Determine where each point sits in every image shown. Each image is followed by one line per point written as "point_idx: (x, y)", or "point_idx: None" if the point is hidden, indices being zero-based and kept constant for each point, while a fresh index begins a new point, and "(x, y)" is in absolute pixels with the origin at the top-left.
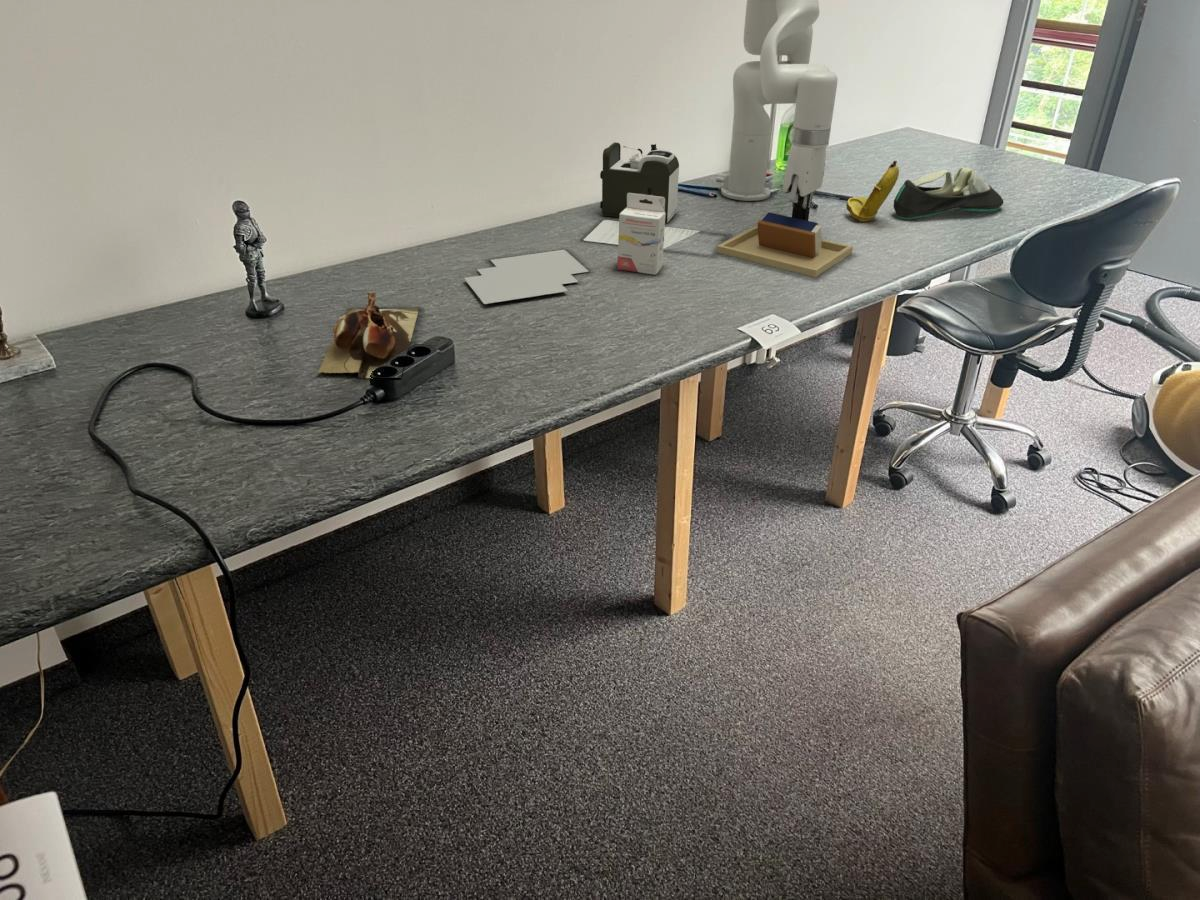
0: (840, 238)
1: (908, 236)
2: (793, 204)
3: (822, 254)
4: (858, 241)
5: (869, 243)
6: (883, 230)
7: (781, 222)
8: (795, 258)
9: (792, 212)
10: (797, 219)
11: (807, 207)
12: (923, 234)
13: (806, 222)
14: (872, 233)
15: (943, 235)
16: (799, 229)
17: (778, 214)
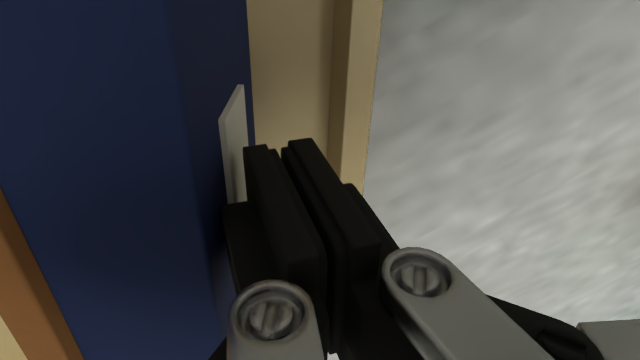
0: (506, 167)
1: (588, 280)
2: (230, 339)
3: None
4: (496, 226)
5: (489, 257)
6: (630, 213)
7: (52, 166)
8: None
9: (268, 212)
10: (195, 278)
11: (344, 355)
12: (612, 289)
13: (193, 344)
14: (594, 208)
15: (612, 314)
16: (53, 353)
17: (165, 60)
